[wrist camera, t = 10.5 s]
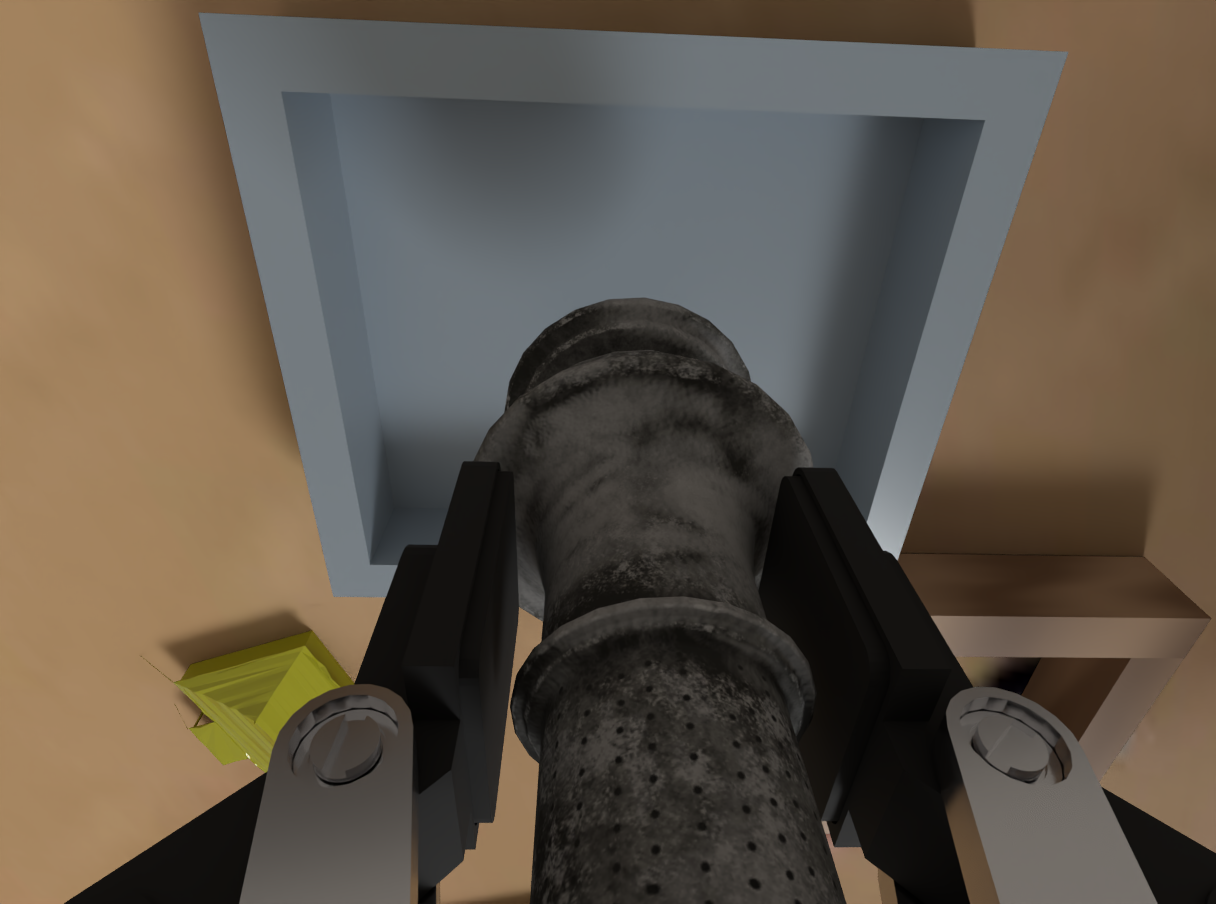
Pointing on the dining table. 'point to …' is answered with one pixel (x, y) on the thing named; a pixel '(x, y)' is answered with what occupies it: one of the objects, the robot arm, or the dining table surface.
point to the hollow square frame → (1067, 632)
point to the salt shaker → (656, 618)
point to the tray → (610, 233)
